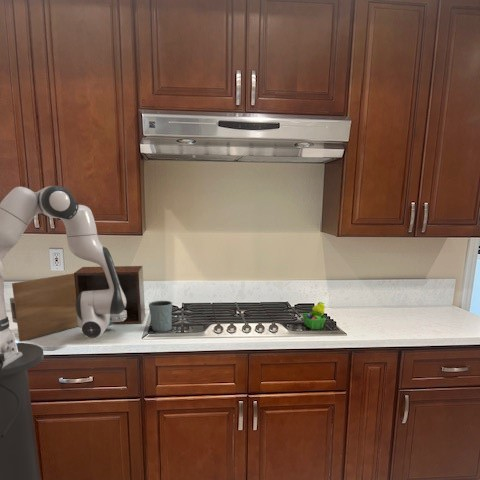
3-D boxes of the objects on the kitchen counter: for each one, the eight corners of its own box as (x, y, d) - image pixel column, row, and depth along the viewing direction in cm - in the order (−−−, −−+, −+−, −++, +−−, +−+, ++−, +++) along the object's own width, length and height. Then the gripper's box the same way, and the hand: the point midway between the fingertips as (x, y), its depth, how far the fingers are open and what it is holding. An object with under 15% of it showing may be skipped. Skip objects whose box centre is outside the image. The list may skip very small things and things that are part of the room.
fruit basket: (300, 324, 216) (301, 300, 213) (318, 322, 218) (319, 299, 215) (310, 330, 205) (311, 305, 202) (328, 329, 207) (330, 304, 204)
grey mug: (177, 329, 208) (176, 302, 205) (159, 333, 201) (158, 306, 197) (163, 324, 214) (161, 299, 211) (145, 329, 207) (143, 303, 204)
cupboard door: (11, 338, 193) (3, 281, 187) (69, 323, 216) (64, 272, 210) (20, 341, 190) (13, 283, 183) (79, 325, 212) (74, 273, 206)
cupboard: (141, 323, 216) (138, 271, 210) (78, 325, 213) (73, 272, 207) (145, 314, 233) (142, 265, 227) (87, 315, 231) (82, 266, 224)
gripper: (124, 311, 191) (128, 304, 204) (73, 312, 189) (80, 304, 202) (125, 326, 192) (129, 317, 206) (74, 327, 190) (82, 318, 204)
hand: (105, 311), depth 204 cm, fingers closed on cup, 7 cm apart
